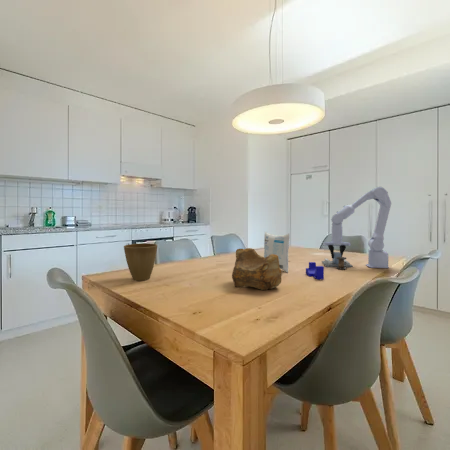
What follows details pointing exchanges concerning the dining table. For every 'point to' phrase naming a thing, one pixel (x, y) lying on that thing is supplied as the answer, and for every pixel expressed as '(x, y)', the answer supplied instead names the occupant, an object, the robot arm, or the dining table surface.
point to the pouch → (277, 248)
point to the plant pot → (140, 260)
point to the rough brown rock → (256, 270)
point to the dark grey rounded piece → (341, 263)
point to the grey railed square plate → (331, 264)
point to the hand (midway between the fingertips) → (336, 258)
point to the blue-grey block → (336, 254)
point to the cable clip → (315, 271)
